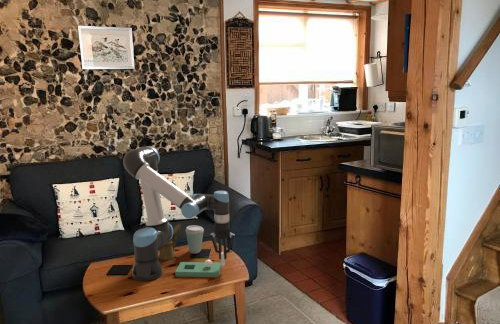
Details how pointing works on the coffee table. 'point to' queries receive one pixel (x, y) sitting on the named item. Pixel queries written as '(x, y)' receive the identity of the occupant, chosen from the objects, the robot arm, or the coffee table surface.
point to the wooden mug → (169, 246)
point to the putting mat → (198, 269)
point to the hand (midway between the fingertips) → (223, 264)
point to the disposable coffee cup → (194, 238)
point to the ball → (208, 263)
